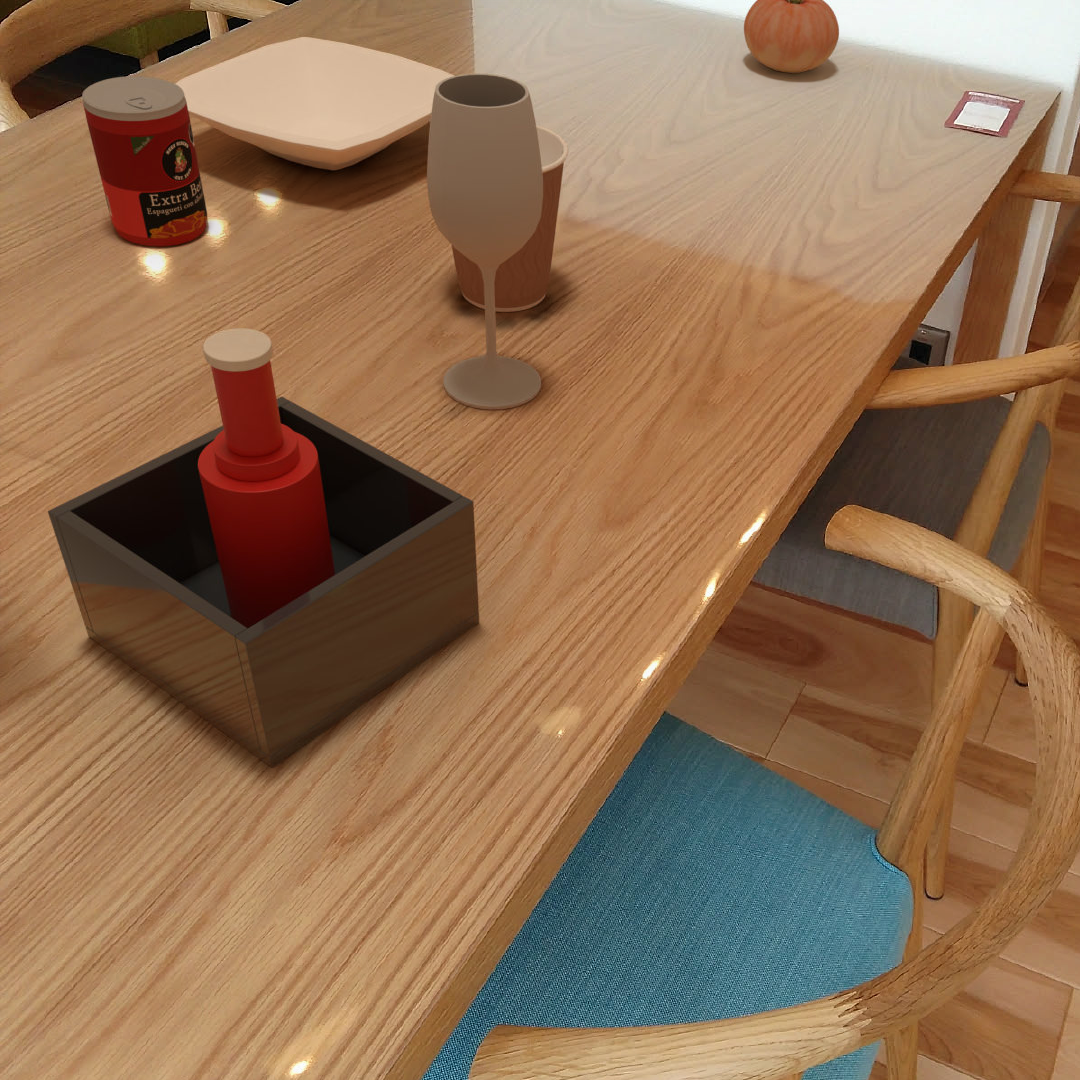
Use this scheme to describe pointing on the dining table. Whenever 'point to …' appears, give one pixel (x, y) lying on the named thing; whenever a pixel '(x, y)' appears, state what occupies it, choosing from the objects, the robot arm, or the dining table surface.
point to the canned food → (146, 159)
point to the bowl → (315, 100)
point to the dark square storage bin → (300, 626)
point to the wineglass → (486, 210)
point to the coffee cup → (531, 265)
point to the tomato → (791, 33)
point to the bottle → (261, 486)
